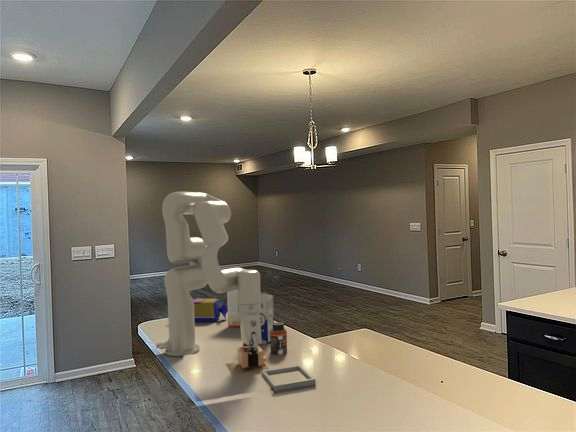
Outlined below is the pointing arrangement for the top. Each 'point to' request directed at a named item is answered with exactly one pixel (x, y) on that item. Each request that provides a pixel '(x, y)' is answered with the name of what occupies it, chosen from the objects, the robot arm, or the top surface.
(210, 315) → the bread
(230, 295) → the cracker box
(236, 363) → the brown board with hook
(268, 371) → the tray
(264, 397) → the top surface
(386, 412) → the top surface
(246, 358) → the ring
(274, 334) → the supplement bottle
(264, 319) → the milk carton
